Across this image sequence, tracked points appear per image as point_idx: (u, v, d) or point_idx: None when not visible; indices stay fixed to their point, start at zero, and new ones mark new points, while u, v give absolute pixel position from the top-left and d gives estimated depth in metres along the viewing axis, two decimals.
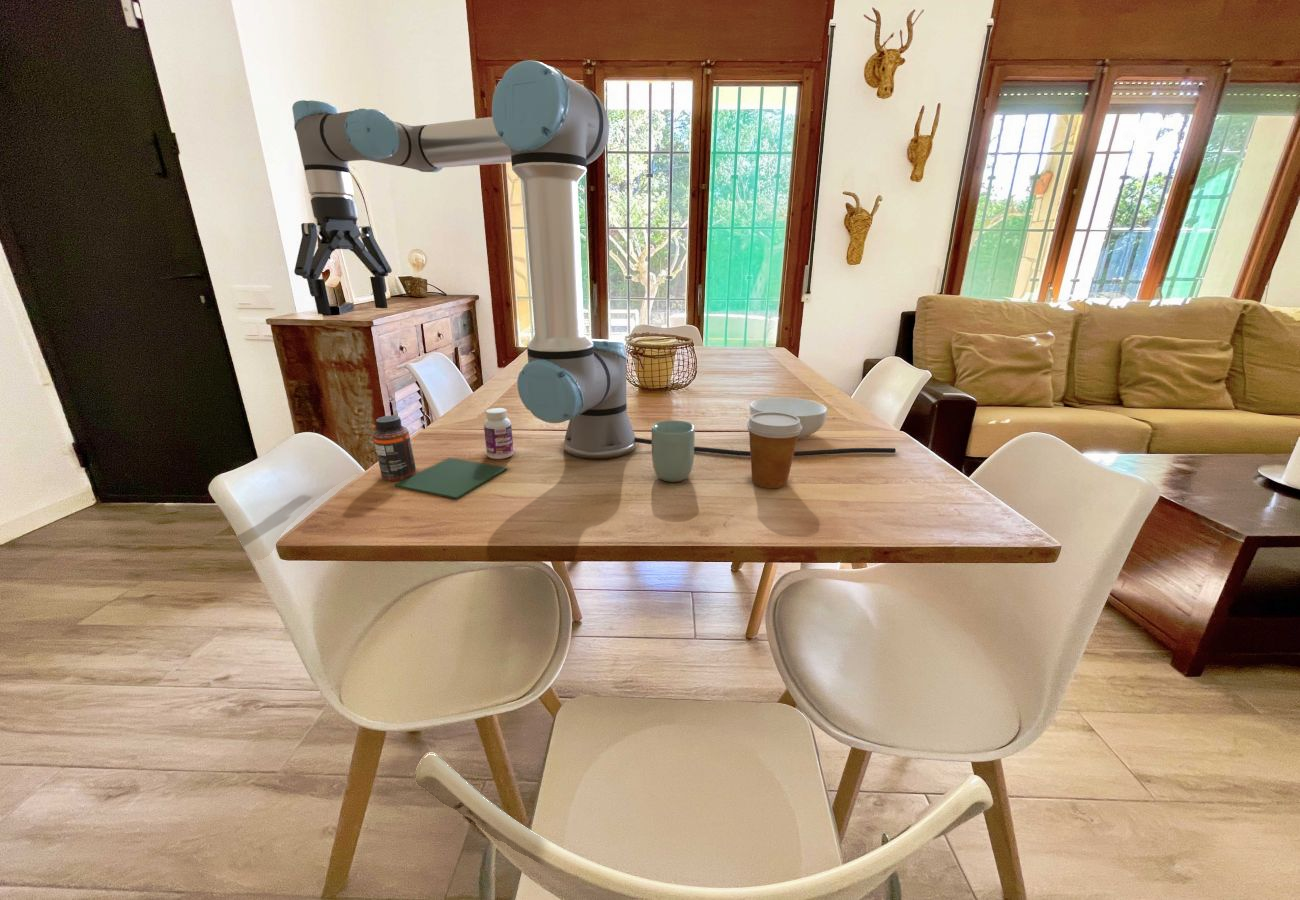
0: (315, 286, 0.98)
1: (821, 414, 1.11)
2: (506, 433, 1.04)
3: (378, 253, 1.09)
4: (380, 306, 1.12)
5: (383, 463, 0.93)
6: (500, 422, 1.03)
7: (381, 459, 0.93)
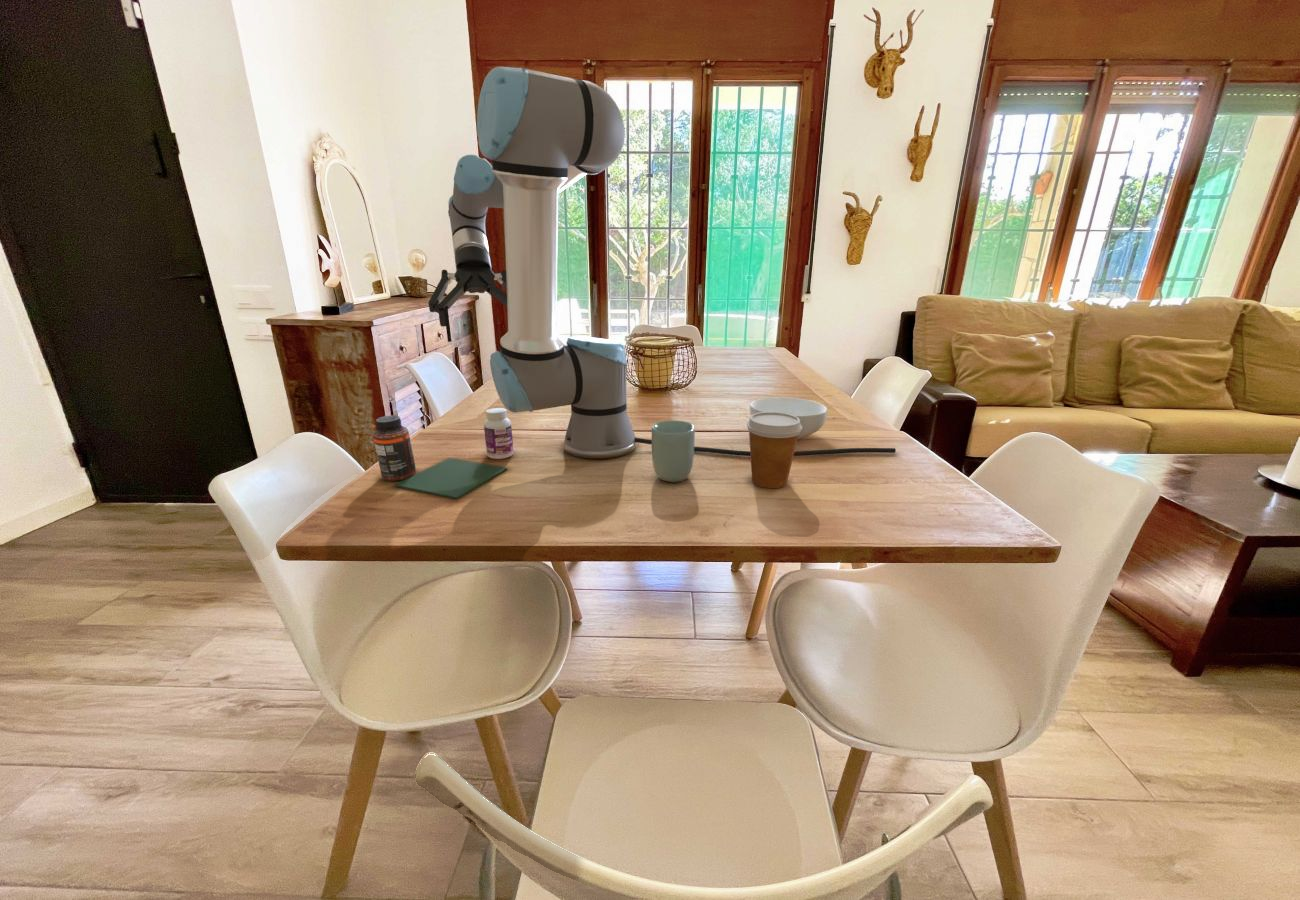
0: (440, 315, 1.08)
1: (821, 414, 1.11)
2: (506, 433, 1.04)
3: None
4: None
5: (383, 463, 0.93)
6: (500, 422, 1.03)
7: (381, 459, 0.93)
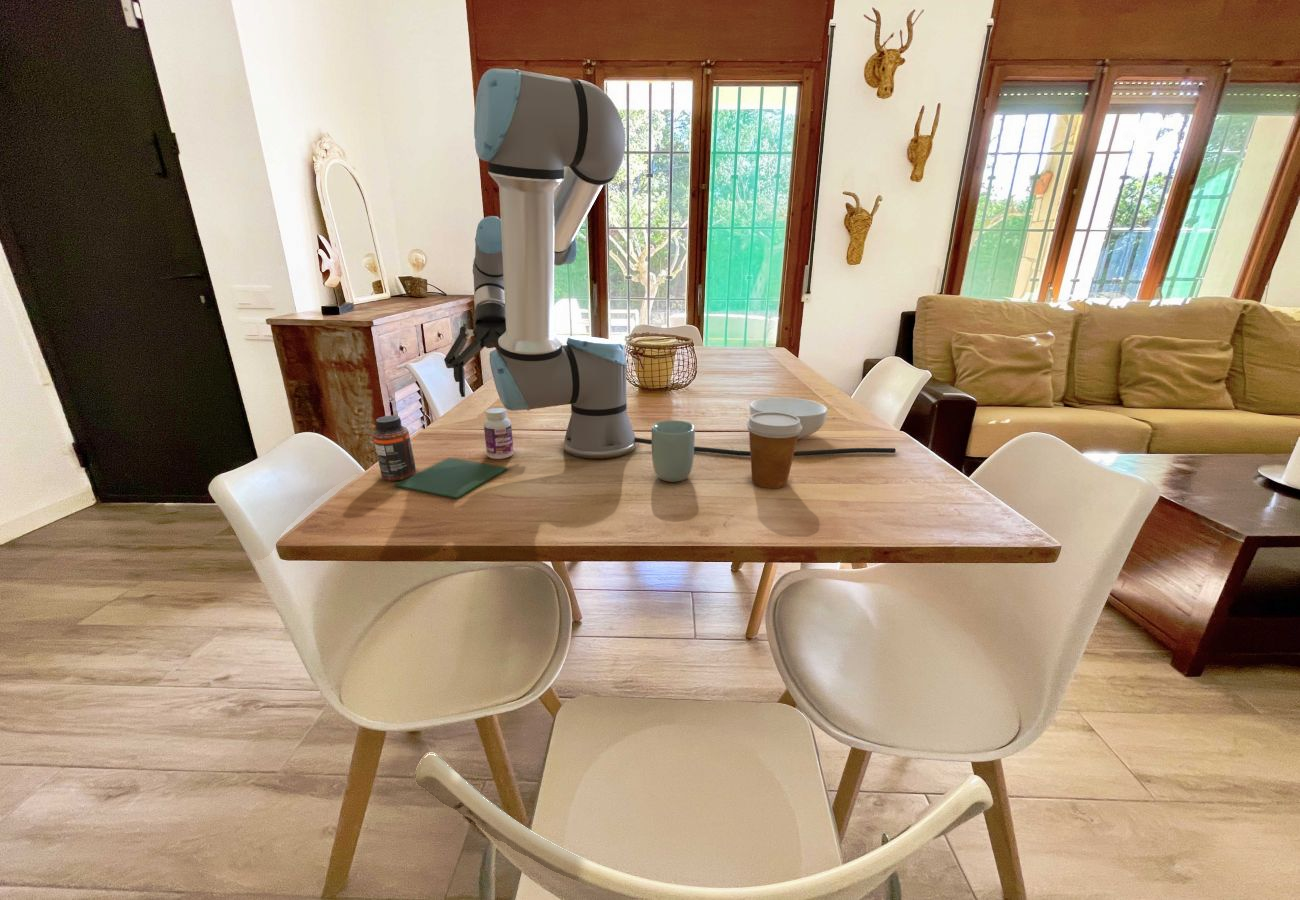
0: (455, 370, 1.09)
1: (821, 414, 1.11)
2: (506, 433, 1.04)
3: None
4: None
5: (383, 463, 0.93)
6: (500, 422, 1.03)
7: (381, 459, 0.93)
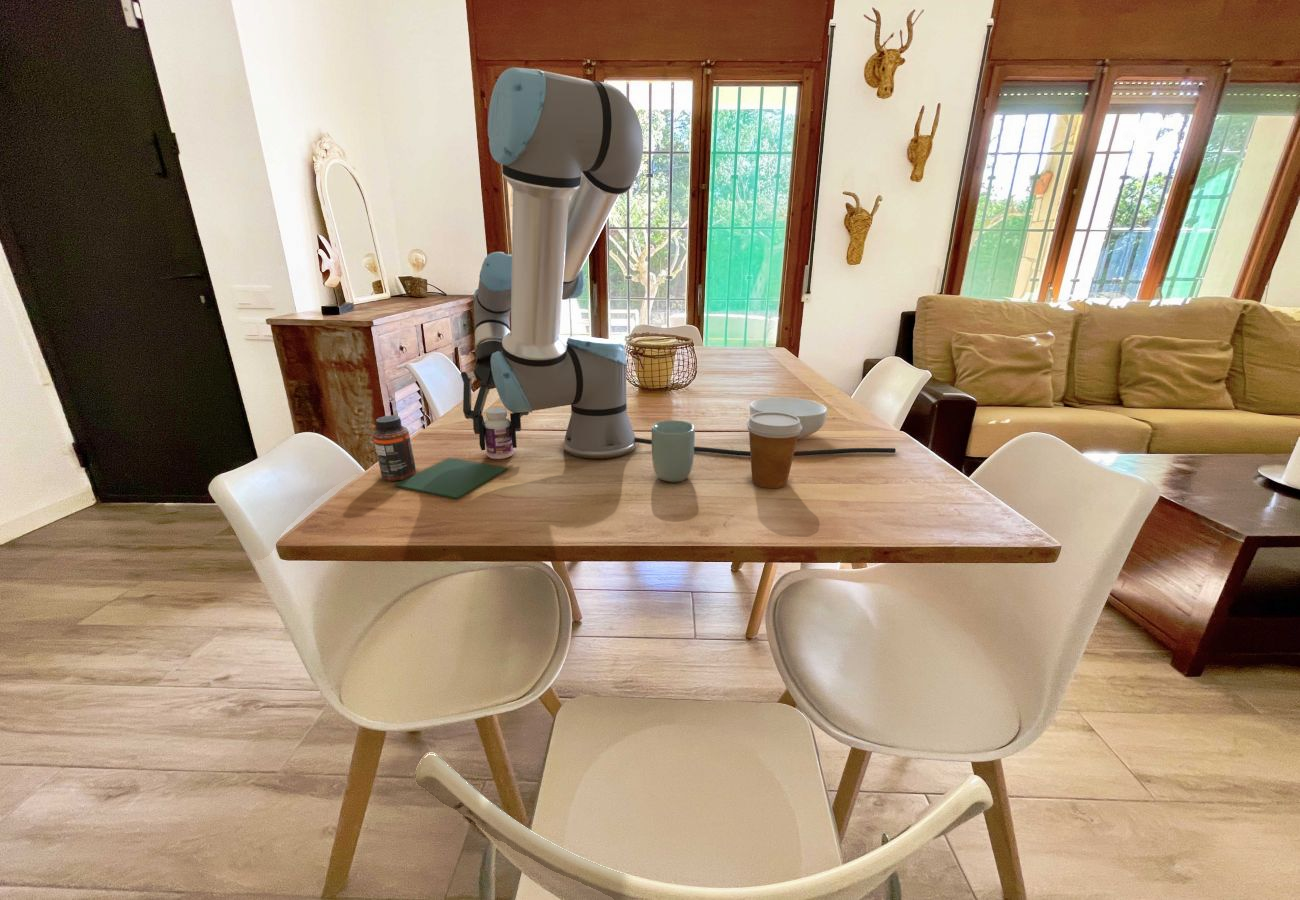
0: (474, 422, 1.03)
1: (821, 414, 1.11)
2: (506, 433, 1.04)
3: None
4: (512, 443, 1.03)
5: (383, 463, 0.93)
6: (500, 422, 1.03)
7: (381, 459, 0.93)
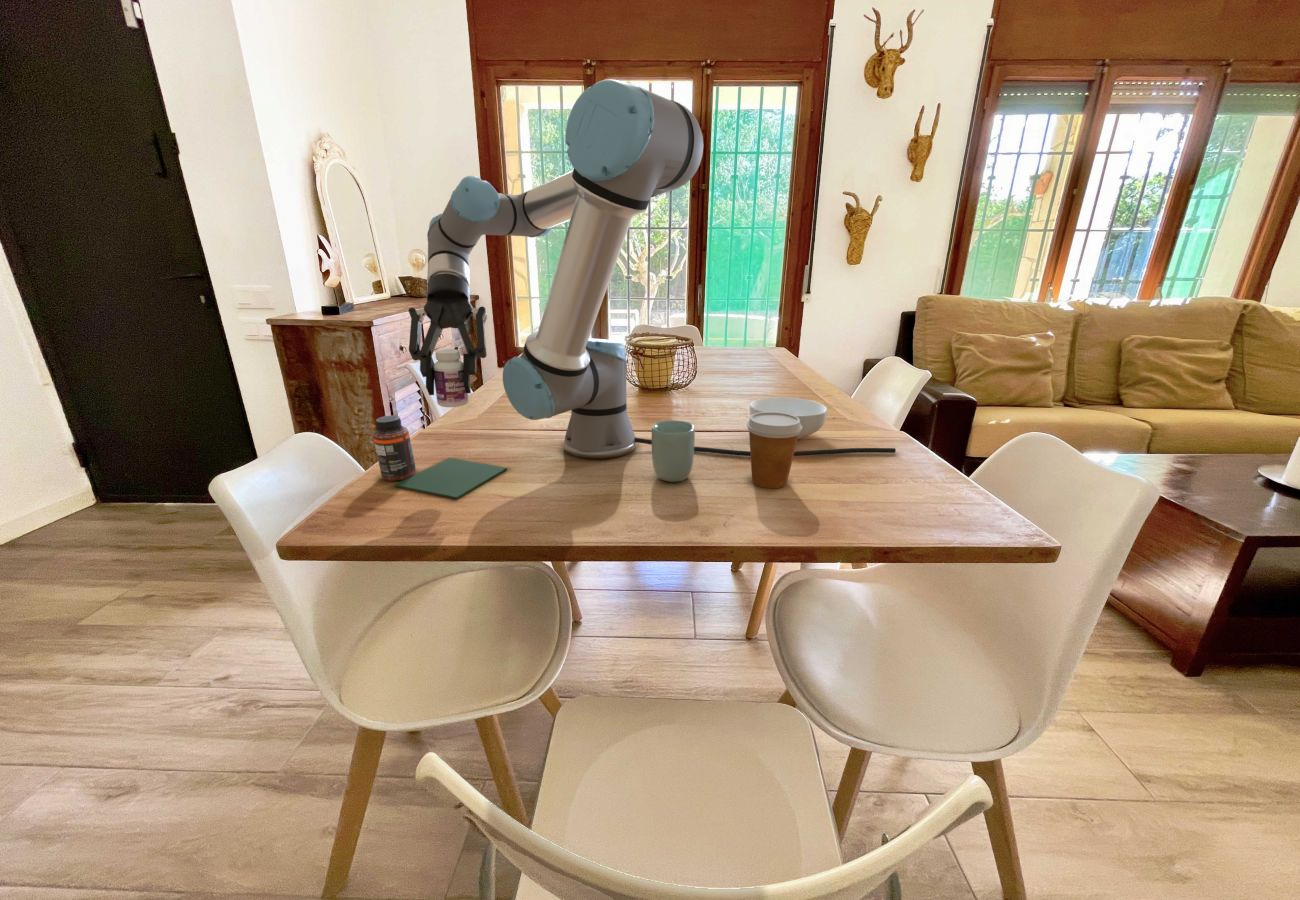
0: (422, 363, 0.90)
1: (821, 414, 1.11)
2: (458, 377, 0.90)
3: (477, 329, 0.94)
4: None
5: (383, 463, 0.93)
6: (451, 364, 0.89)
7: (381, 459, 0.93)
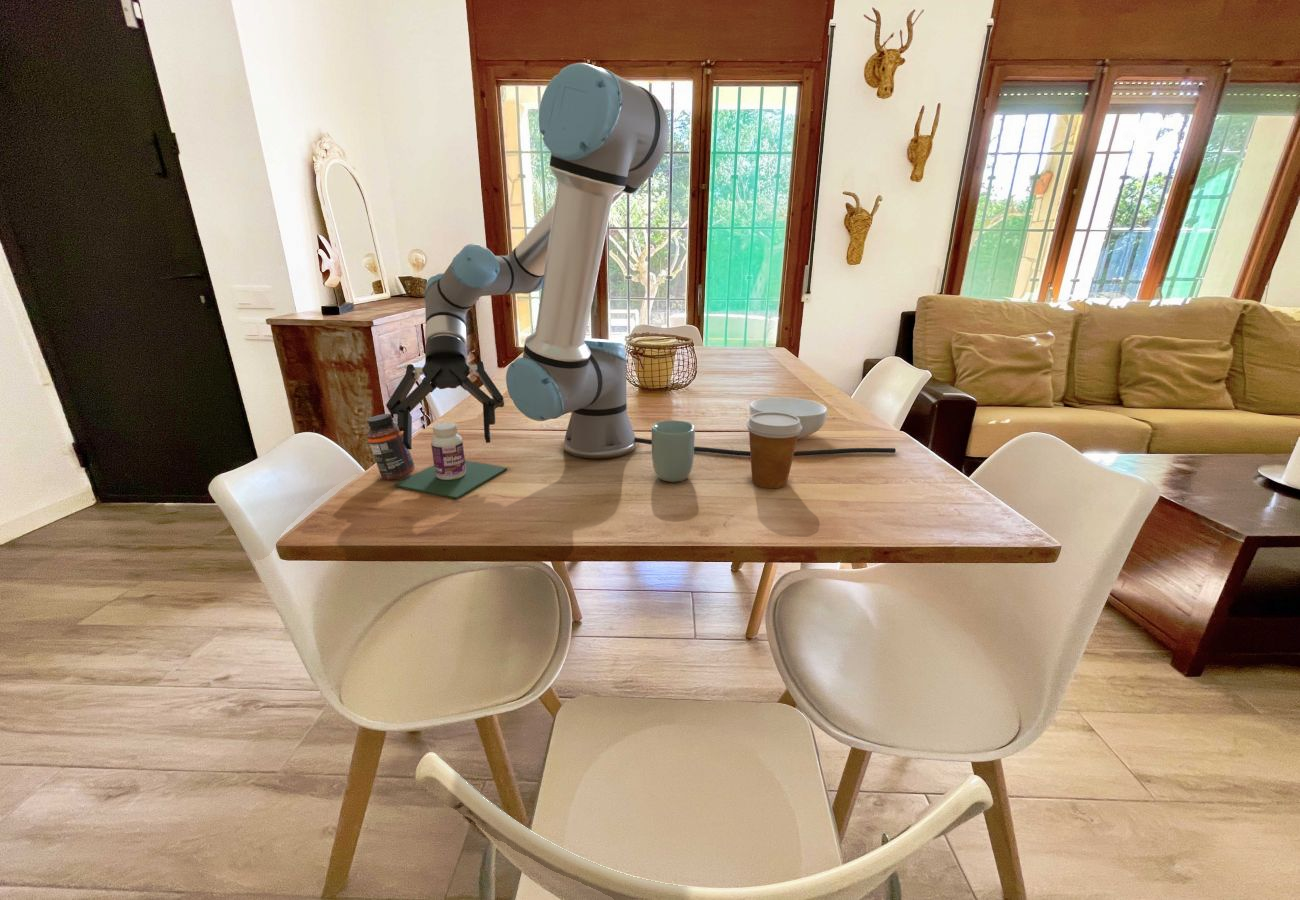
0: (399, 418, 0.92)
1: (821, 414, 1.11)
2: (456, 452, 0.93)
3: (487, 383, 0.97)
4: (485, 437, 0.94)
5: (380, 462, 0.93)
6: (448, 439, 0.92)
7: (377, 458, 0.93)
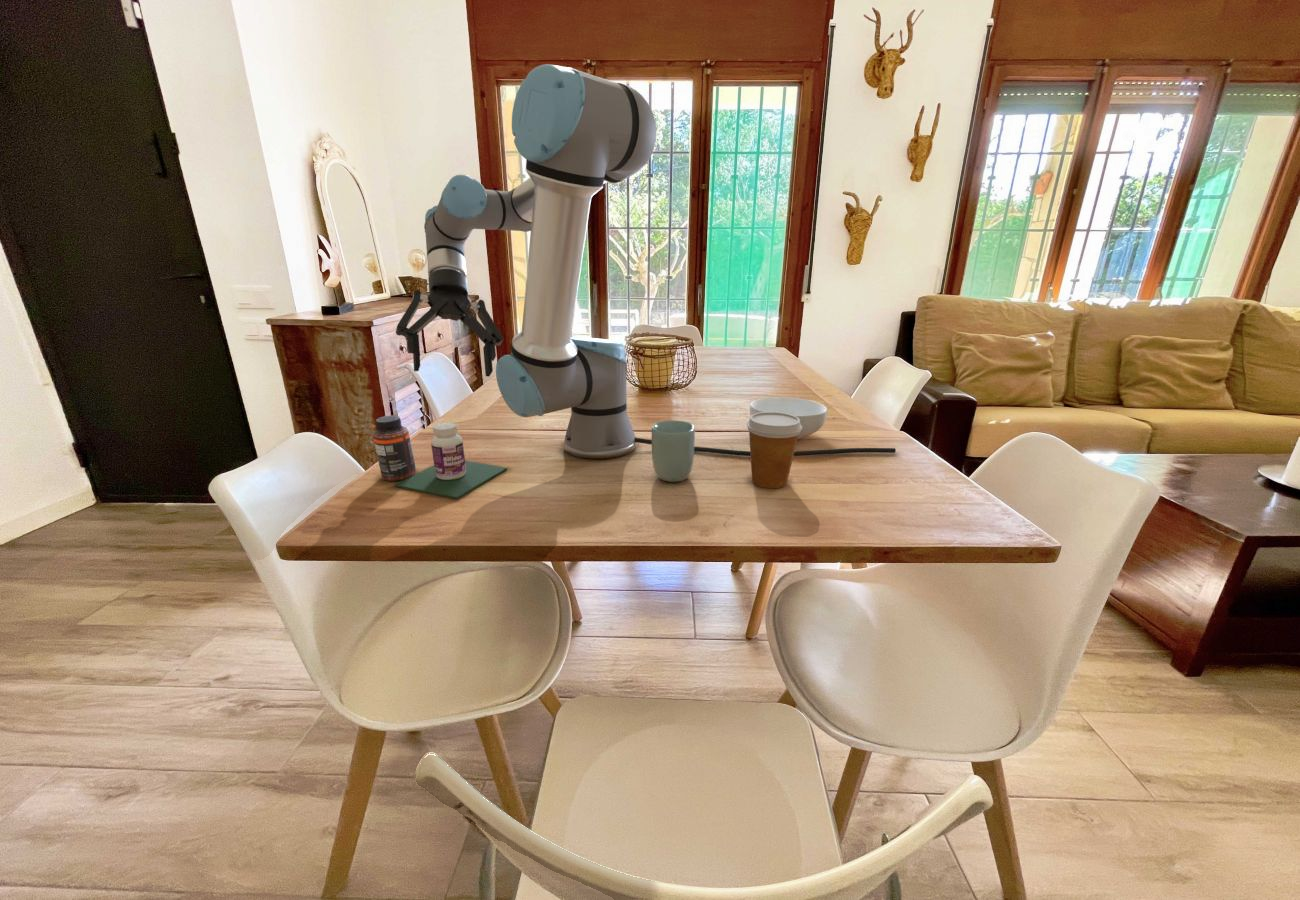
0: (409, 341, 0.99)
1: (821, 414, 1.11)
2: (456, 452, 0.93)
3: (489, 322, 1.08)
4: (487, 371, 1.06)
5: (383, 463, 0.93)
6: (448, 439, 0.92)
7: (381, 459, 0.93)
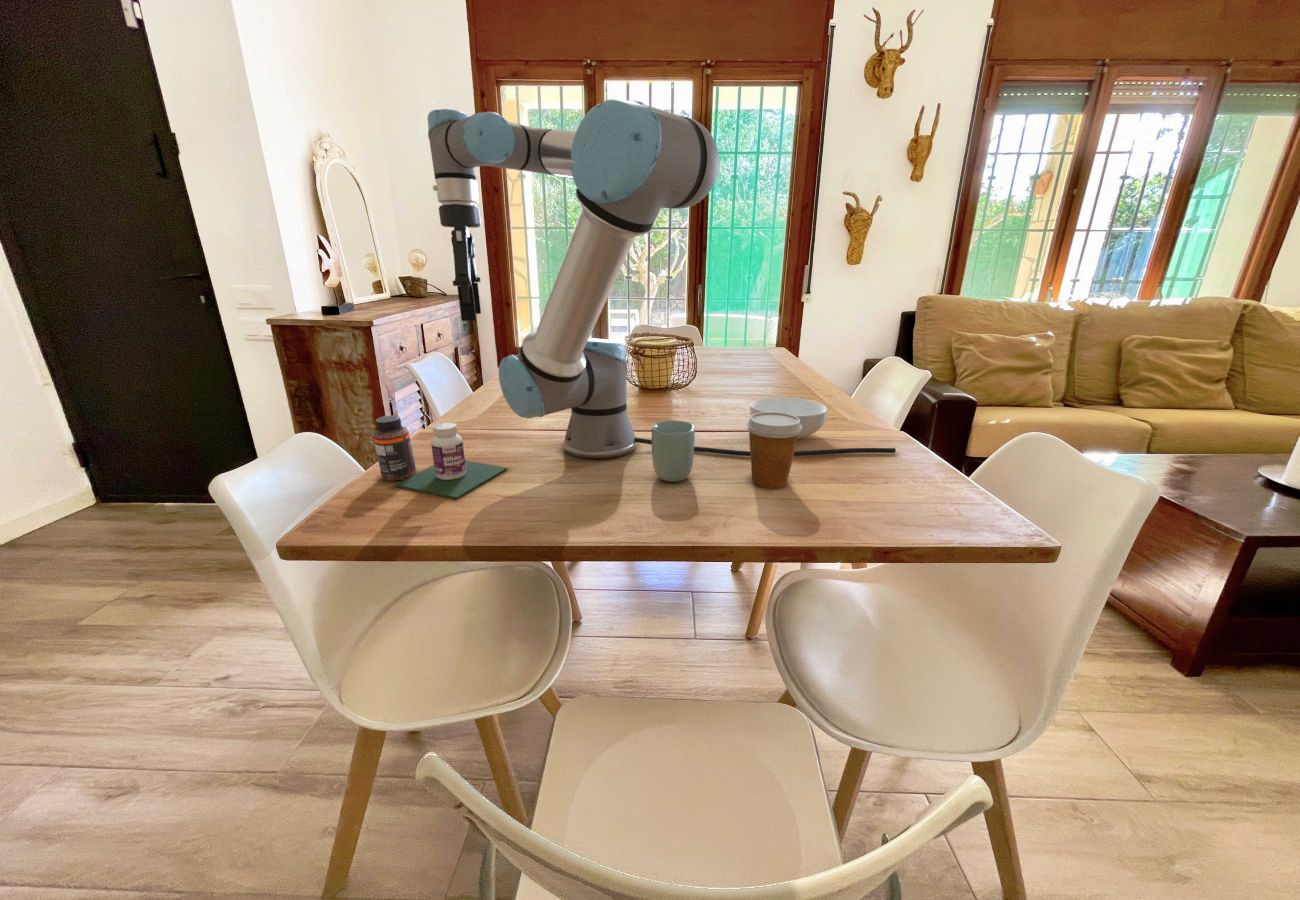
0: (469, 293, 0.99)
1: (821, 414, 1.11)
2: (456, 452, 0.93)
3: (474, 259, 1.11)
4: (474, 312, 1.14)
5: (383, 463, 0.93)
6: (448, 439, 0.92)
7: (381, 459, 0.93)
